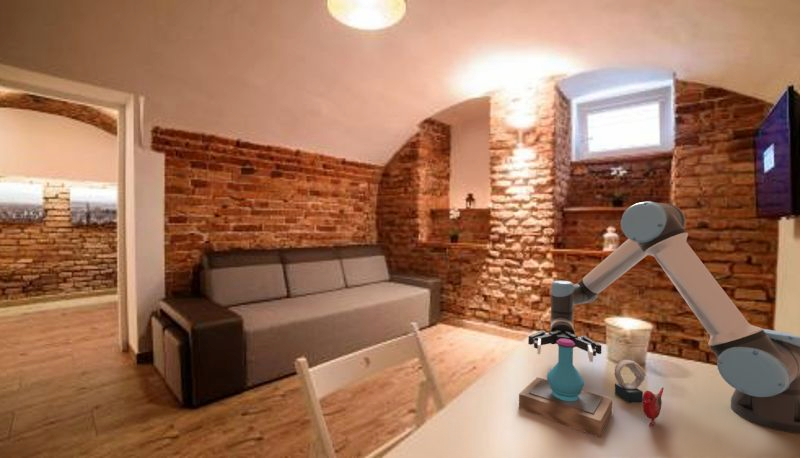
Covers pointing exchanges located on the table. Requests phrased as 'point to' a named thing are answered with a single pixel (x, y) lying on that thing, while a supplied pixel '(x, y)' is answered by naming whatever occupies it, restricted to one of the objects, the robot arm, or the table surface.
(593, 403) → the walnut stand
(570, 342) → the perfume bottle
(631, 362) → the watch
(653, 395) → the decorative bird figurine
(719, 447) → the table surface
